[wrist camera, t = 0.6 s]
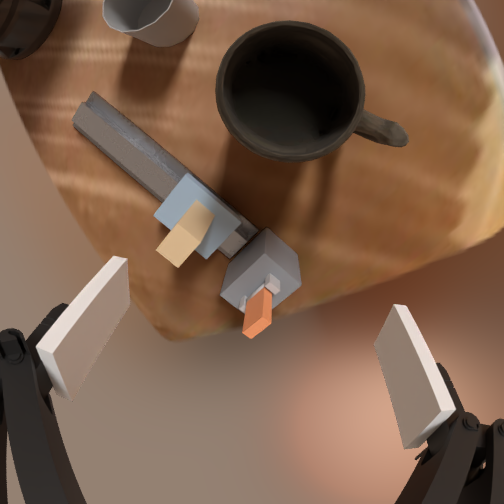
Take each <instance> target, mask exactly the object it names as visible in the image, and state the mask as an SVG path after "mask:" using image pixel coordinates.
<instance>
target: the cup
mask: <svg viewBox="0 0 504 504" xmlns="http://www.w3.org/2000/svg"><path fill="white" fill-rule="evenodd" d="M103 18H104V19H105V21H106V22H107V24H108V26H109V27H110V28H113V29H115V30H118V31H120V32H123V33H125V34H127V35H130V36H132V37H135V38H137V39H139V40H142V41H144V42H146V43H149V44H151V45H153V46H155V47H170V46H173V45H175V44H178V43H180V42H182V41H184V40H185V39H186V38H187V37H188V36H189V35H190V34H191V33H192V32H193V31H194V30H195V27H196V25H197V23H198V21H199V10H198V6H197V5H196V4H195V2H194V1H193V0H104V2H103Z"/></svg>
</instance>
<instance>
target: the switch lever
mask: <svg viewBox="0 0 504 504" xmlns="http://www.w3.org/2000/svg"><path fill="white" fill-rule="evenodd" d="M246 300H247V304H246V311H245V318H244V325H243V331H242V333H243V334H245V335H246V336H248V337H249V338H250V339H252V338H253V337H254V336H256V335H257V334H258V333H260V332H261V331H262V330H263V329H265V328H266V327H267V326H269V325H270V324H271V314H272V292H271V291H270V290H269V289H267V288H266V287H265V283H264V284H262V285H261V286H260V287H259V288H258V289H257V290H256V291H255V292H253V293H252V294H251V295H250V296H249V297H248V298H247V299H246Z"/></svg>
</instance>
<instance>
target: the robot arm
mask: <svg viewBox="0 0 504 504" xmlns="http://www.w3.org/2000/svg"><path fill="white" fill-rule="evenodd" d="M61 3H62V0H0V57H2V58H4V59H13V60H18V59H22V58H25V57H27V56H29V55H30V54H32V53H33V52H34V51H35V50H36V49H38V48H39V46H40V45H41V44H42V43H43V42H44V41H45V39H46V38H47V37H48V35H49V34H50V32H51V30H52V28H53V27H54V25H55V23H56V20H57V18H58V15H59V12H60V9H61ZM129 306H130V295H129V281H128V263H127V259H126V258H121V257H116V256H113V257H112V258H111V259H110V260H109V261H108V262H107V263H106V264H105V266H104V267H103V268H102V269H101V270H100V271H99V272H98V273H97V275H96V276H94V278H93V279H92V280H91V281H90V282H89V283H88V284H87V285H86V286H85V288H84V289H83V290H82V291H81V292H80V293H79V294H78V296H77V297H76V298H75V299H74V300H73V301H72V303H71V304H70V305H68V304H64V303H62V304H60V305H58V306H57V307H55V308H53V309H52V310H51V311H50V313H49V314H48V315H47V316H46V318H44V319H43V321H42V322H41V324H39V325H38V327H37V328H36V329H35V330H34V331H33V333H32V334H31V335H30V336H29V337H28V339H27V340H26V341H25V338H24V336H23V333H22V332H21V331H19V330H17V329H14V328H12V329H6V330H3V331H1V332H0V504H8V501H7V484H6V483H7V482H6V481H7V480H6V447H7V429H8V434H9V441H10V446H11V451H12V455H13V460H14V464H15V469H16V473H17V476H18V480H19V484H20V487H21V491H22V494H23V497H24V500H25V503H26V504H87V503H86V501H85V499H84V497H83V494H82V492H81V490H80V487H79V485H78V482H77V480H76V477H75V475H74V472H73V469H72V467H71V464H70V461H69V458H68V455H67V453H66V449H65V446H64V443H63V440H62V437H61V434H60V431H59V427H58V423H57V420H56V416H55V412H54V408H53V404H52V400H51V396H50V394H49V392H50V390H51V388H52V387H53V388H54V390H55V391H56V394H57V395H59V396H61V397H63V398H66V399H68V400H70V401H73V400H74V398H75V396H76V394H77V392H78V391H79V389H80V387H81V385H82V384H83V382H84V380H85V378H86V377H87V375H88V373H89V371H90V370H91V368H92V366H93V364H94V363H95V361H96V359H97V358H98V356H99V354H100V353H101V351H102V349H103V348H104V346H105V344H106V343H107V341H108V339H109V338H110V336H111V334H112V333H113V331H114V330H115V328H116V326H117V325H118V323H119V321H120V320H121V318H122V317H123V315H124V314H125V312H126V310H127V309H128V307H129ZM374 347H375V350H376V353H377V355H378V359H379V362H380V365H381V368H382V372H383V375H384V378H385V381H386V385H387V388H388V391H389V394H390V398H391V402H392V405H393V409H394V412H395V416H396V419H397V423H398V427H399V431H400V435H401V438H402V443H403V447H404V449H411V448H418V447H420V446H421V445H422V444H423V443H424V442H425V441H426V440H427V443H428V447H427V448H426V449H424V450H423V451H422V452H421V453H420V454H419V455H418V456H417V457H416V458H415V460H417V459H418V458H419V457H421V458H420V460H419V462H418V464H417V466H416V467H415V470H414V471H413V473H412V475H411V477H410V479H409V481H408V482H407V484H406V486H405V487H404V489H403V491H402V492H401V494H400V496H399V497H398V499H397V501H396V502H395V504H504V419H497V420H496V421H495V422H494V423H493V424H492V425H491V426H490V425H484V424H480V422H479V420H478V419H477V417H476V416H474V415H473V414H472V413H469V412H465V411H464V408H463V406H462V404H461V401H460V399H459V397H458V395H457V392H456V390H455V388H453V387H454V386H453V383H452V381H450V377H449V375H448V373H447V371H446V370H445V368H444V367H443V366H442V365H441V364H440V363H435V361H434V359H433V357H432V355H431V353H430V351H429V349H428V347H427V344H426V343H425V341H424V339H423V337H422V335H421V333H420V331H419V329H418V327H417V325H416V323H415V321H414V319H413V317H412V316H411V314H410V312H409V310H408V308H407V306H405V305H397V304H394V305H393V307H392V309H391V311H390V313H389V315H388V317H387V320H386V321H385V324H384V326H383V328H382V330H381V332H380V334H379V336H378V337H377V340H376V341H375V343H374ZM485 462H486V466H485V468H484V469H483V463H485Z"/></svg>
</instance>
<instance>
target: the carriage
mask: <svg viewBox="0 0 504 504" xmlns="http://www.w3.org/2000/svg"><path fill="white" fill-rule="evenodd" d="M153 216H154V217H156V218H157V219H158V220H159V221H160V222H162V223H163V224H164V225H165V226H166V227H168V228H169V229H170V230H171V231H170V232H169V234H168V235H167V236H166V237H165V239H164V240H163V241H162V243H161V244H160V245H159V246H158V248H157V249H156V250H157V251H158V252H159V253H160V254H161V255H163V256H164V257H165V258H166V259H168V260H169V261H170V262H171V263H173V264H174V265H175V266H176V267H179V266H180V265H181V264H182V263H183V262H184V261H185V260H186V258H187V257H188V256H189V255H190V254H191V253H192V252H193V251H194V250H196V251H197V252H198V253H199V254H200V255H202V256H203V257H204V258H205V259H207V258H208V257H209V256H210V255H211V254H212V253H213V252H214V251H215V250H216V249H217V248H218V247H219V246H220V245H221V244H222V243H223V242H224V241H225V240H226V239H227V238H228V236H229V235H230V234H231V233H232V232H233V231H234V230H235V229H236V228H237V227H238V226H239V225H240V224H241V223H242V220H243V219H242V218H241V217H239V216H238V215H237V214H236V213H235V212H234V211H232V210H231V209H230V208H229V207H228V206H227V205H225V204H224V203H223V202H222V201H221V200H220V199H218V198H217V197H216V196H215V195H214V194H213V193H211V192H210V191H209V190H208V189H207V188H206V187H204V186H203V185H202V184H201V183H200V182H198V181H197V180H196V179H195V178H194V177H193V176H191V175H190V174H189V173H187V174H185V176H184V177H183V178H182V179H181V181H180V182H179V183H178V184H177V186H176V187H175V188H174V189H173V191H172V192H171V193H170V194H169V196H168V197H167V198H166V200H165V201H164V202H163V203H162V205H161V206H160V207H159V209H158V210H157V211H156V213H155V214H154V215H153Z"/></svg>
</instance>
